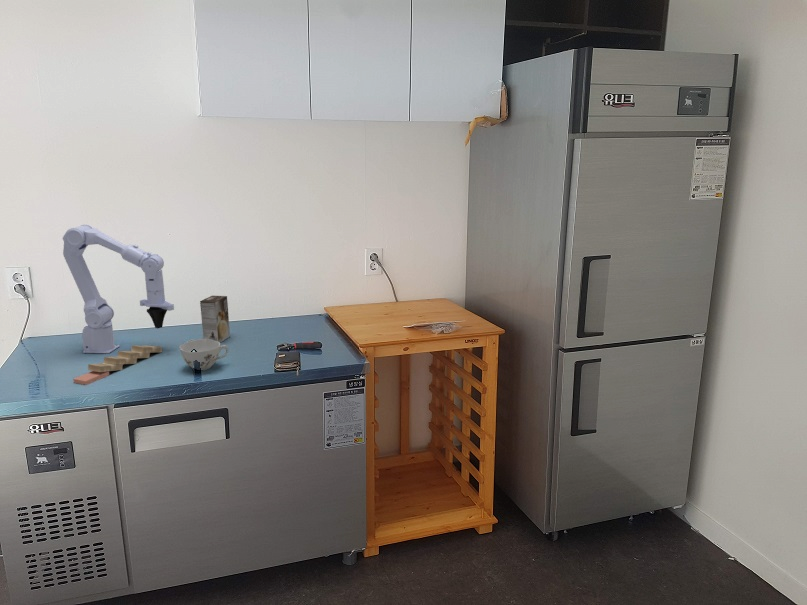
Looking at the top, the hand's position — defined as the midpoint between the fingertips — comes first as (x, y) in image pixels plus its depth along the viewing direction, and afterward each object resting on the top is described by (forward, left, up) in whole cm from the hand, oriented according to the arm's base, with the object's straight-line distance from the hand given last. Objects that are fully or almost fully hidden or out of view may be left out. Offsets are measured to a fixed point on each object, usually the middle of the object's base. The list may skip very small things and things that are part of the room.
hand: (158, 327), depth 219 cm
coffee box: (+16, +12, -8) cm, 22 cm away
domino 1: (-6, -20, -7) cm, 22 cm away
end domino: (-8, -25, -8) cm, 27 cm away
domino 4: (-1, -2, -7) cm, 8 cm away
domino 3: (-3, -8, -7) cm, 11 cm away
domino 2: (-5, -14, -7) cm, 16 cm away
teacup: (+22, -17, -8) cm, 29 cm away
